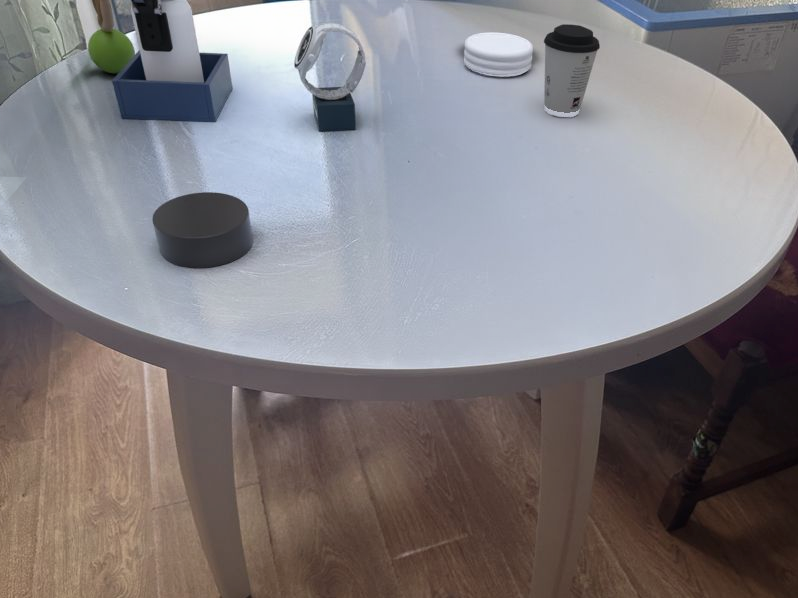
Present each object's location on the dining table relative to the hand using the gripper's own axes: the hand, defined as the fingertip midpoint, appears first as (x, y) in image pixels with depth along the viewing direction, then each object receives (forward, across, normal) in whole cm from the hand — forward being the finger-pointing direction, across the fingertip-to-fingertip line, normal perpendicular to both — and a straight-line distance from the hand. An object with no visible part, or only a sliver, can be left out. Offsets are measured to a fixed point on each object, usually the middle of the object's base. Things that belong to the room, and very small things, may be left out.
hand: (167, 38), depth 83 cm
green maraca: (+8, -9, -10) cm, 16 cm away
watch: (+8, +4, +19) cm, 21 cm away
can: (+7, 0, 0) cm, 7 cm away
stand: (+8, +32, +10) cm, 34 cm away
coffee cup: (+8, -2, +48) cm, 49 cm away
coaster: (+8, -18, +41) cm, 45 cm away
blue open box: (+8, 0, 0) cm, 8 cm away
